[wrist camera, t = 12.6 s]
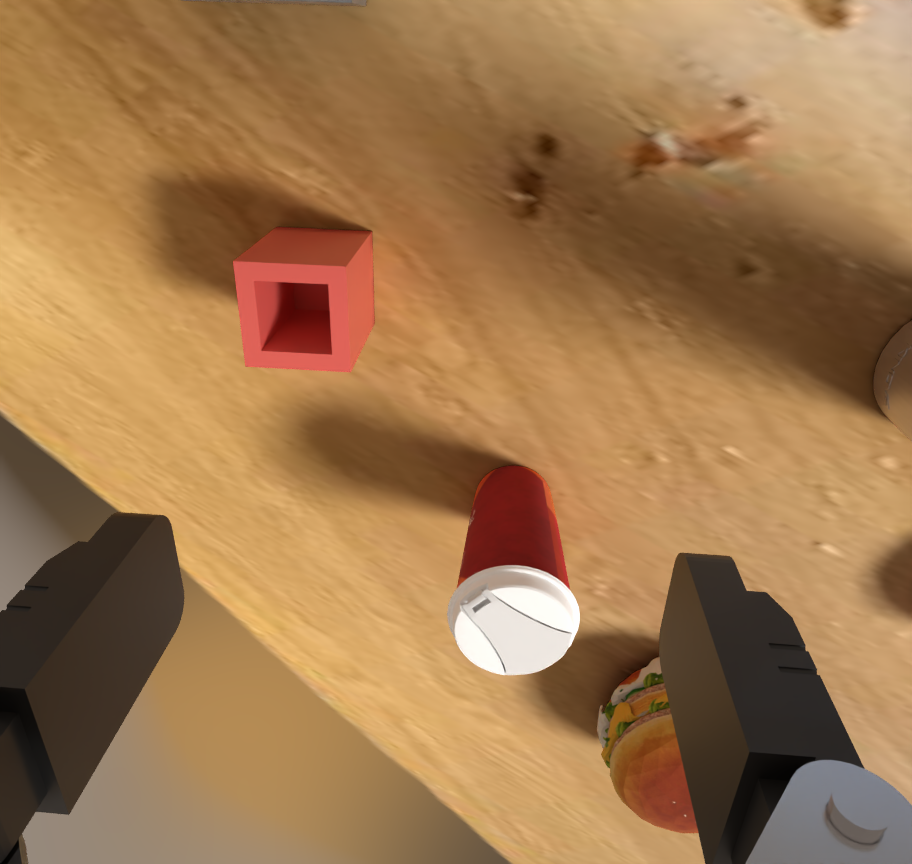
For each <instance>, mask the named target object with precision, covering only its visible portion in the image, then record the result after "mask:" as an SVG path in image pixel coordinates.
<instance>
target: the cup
mask: <svg viewBox="0 0 912 864" xmlns="http://www.w3.org/2000/svg"><path fill="white" fill-rule="evenodd" d="M233 266H234V274H235V282H236V291H237V299H238V308H239V316H240V324H241V333H242V341H243V350H244V358H245V366H246V367H264V368H282V369H300V370H319V371H337V372H351V371H352V369H353V367H354V365H355V363H356V360H357V358H358V356H359V354H360V352H361V350H362V348H363V346H364V344H365V342H366V340H367V338H368V336H369V334H370V332H371V330H372V328H373V326H374V324H375V318H374V280H373V241H372V231H358V230H336V229H314V228H292V227H276V228H274V229H273V230H272V231H271V232H269V233H268V234H267V235H266V236H264V237H263V238H262V239H260V240H259V241H258V242H257V243H255V244H254V245H253V246H252V247H250V248H249V249H248V250H247V251H245V252H244V253H243V254H241V255H240V256H239V257H238V258H236V259H235V260H234V261H233Z"/></svg>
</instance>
